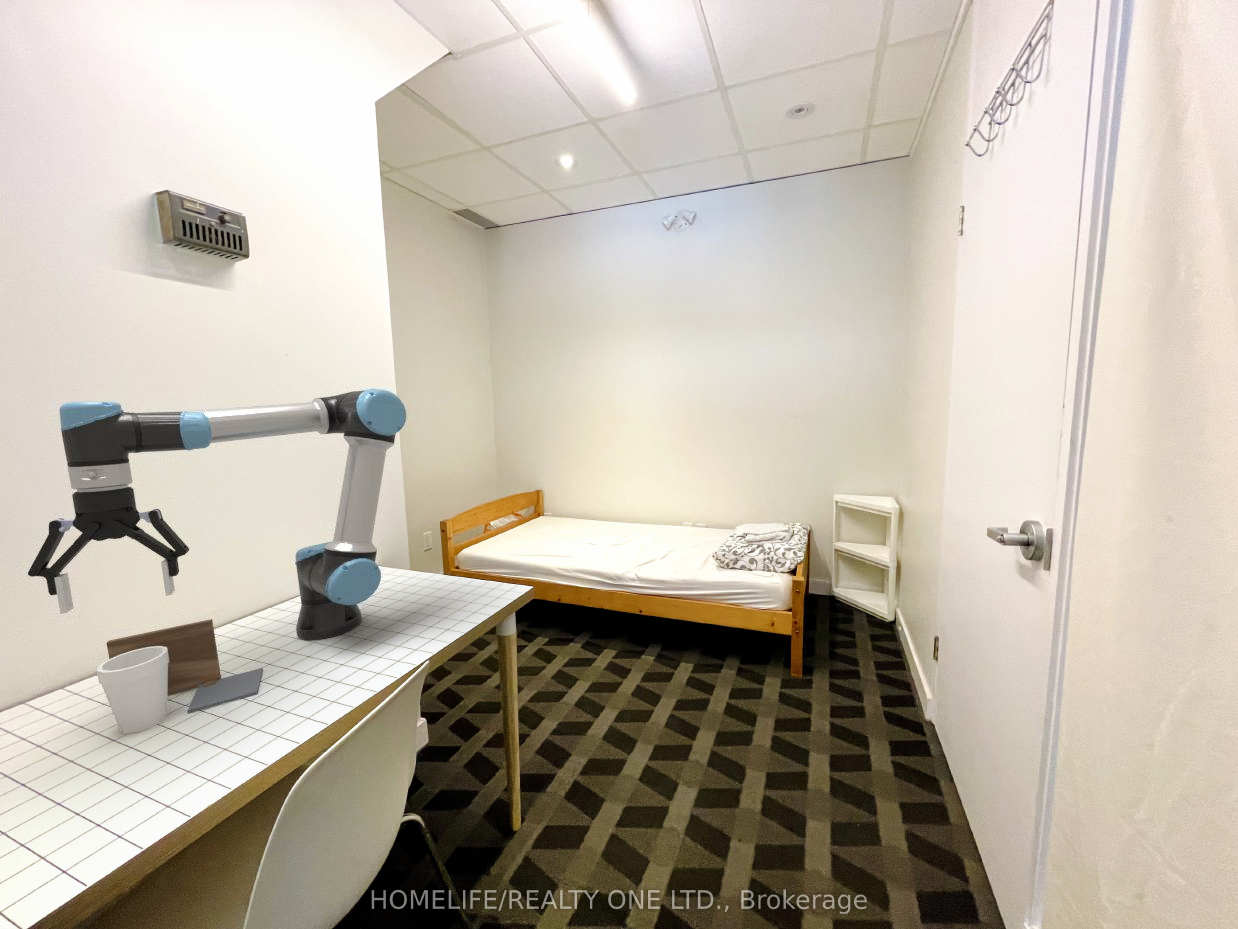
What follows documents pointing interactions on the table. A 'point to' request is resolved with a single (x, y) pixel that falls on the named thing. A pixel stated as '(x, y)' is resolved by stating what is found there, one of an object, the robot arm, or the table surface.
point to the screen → (179, 653)
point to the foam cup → (137, 687)
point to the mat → (226, 690)
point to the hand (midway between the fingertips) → (120, 601)
